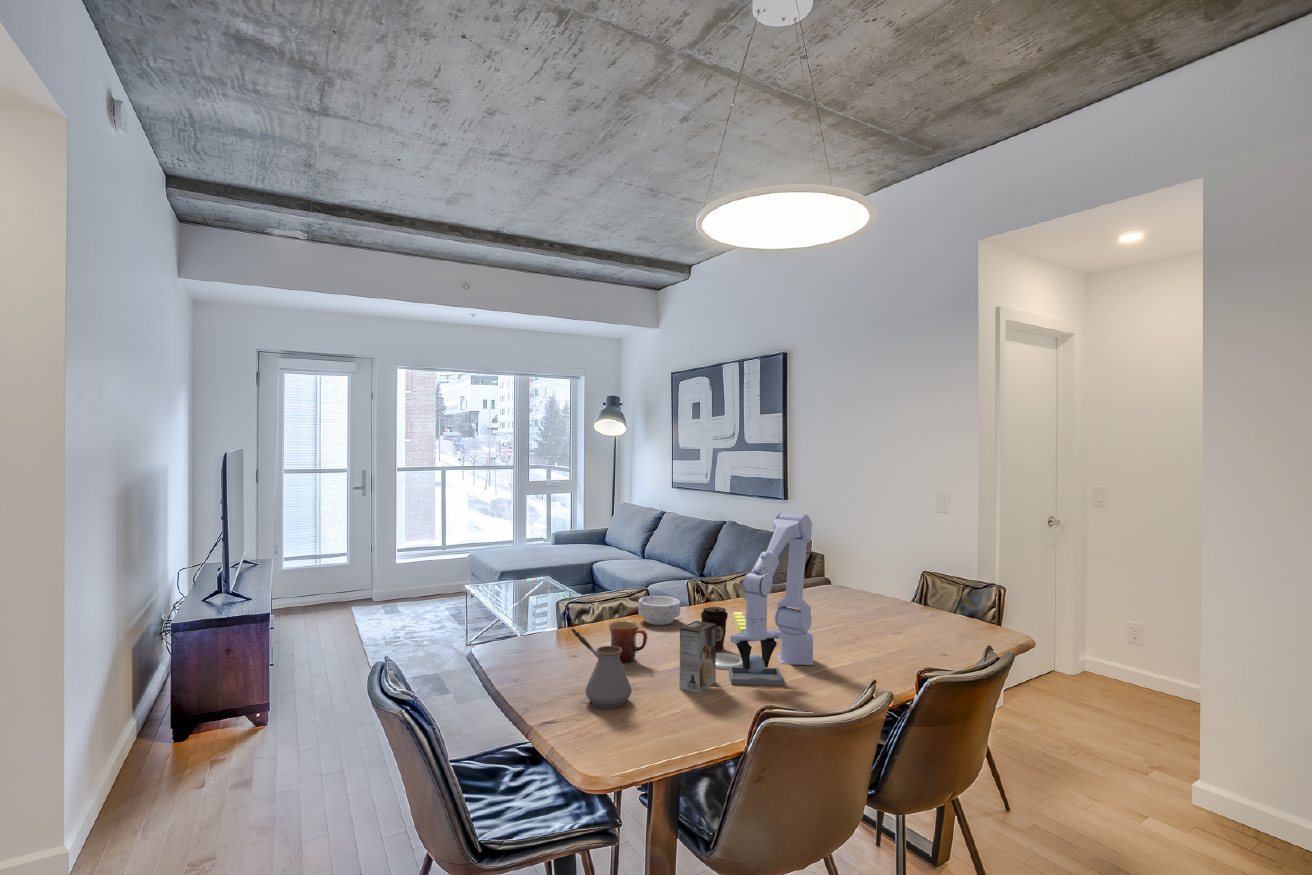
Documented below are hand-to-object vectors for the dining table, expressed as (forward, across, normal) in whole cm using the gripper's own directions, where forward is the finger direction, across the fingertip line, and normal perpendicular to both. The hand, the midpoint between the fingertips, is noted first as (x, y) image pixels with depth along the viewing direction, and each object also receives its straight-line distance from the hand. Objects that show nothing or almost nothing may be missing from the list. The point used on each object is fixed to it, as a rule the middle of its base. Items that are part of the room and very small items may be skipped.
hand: (755, 667), depth 178 cm
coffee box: (+4, +17, -1) cm, 17 cm away
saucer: (+3, +2, -15) cm, 16 cm away
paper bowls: (+4, +4, -63) cm, 64 cm away
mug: (+4, +28, -26) cm, 38 cm away
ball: (+2, 0, 0) cm, 2 cm away
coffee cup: (+4, 0, -27) cm, 27 cm away
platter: (+4, -23, -47) cm, 52 cm away
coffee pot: (+4, +44, -2) cm, 45 cm away
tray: (+3, 0, 0) cm, 3 cm away
